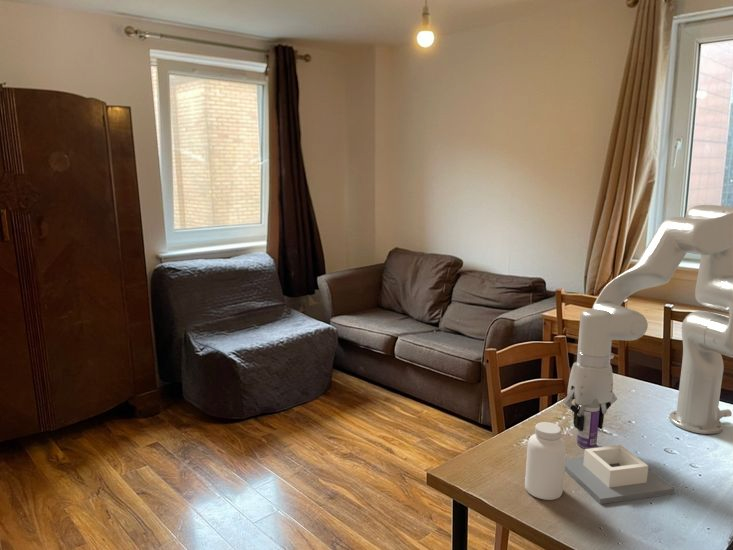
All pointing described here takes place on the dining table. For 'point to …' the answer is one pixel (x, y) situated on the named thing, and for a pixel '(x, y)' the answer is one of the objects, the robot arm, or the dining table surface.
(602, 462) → the square socket holder
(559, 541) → the dining table surface
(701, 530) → the dining table surface
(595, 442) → the container
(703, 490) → the dining table surface
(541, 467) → the pill bottle
